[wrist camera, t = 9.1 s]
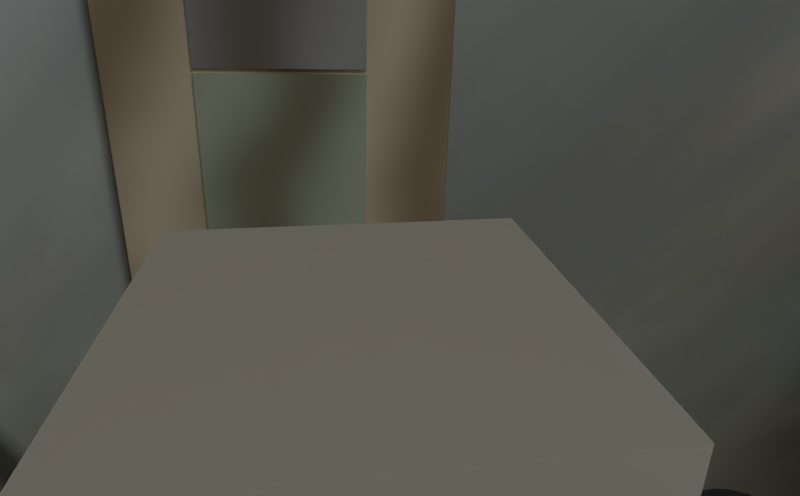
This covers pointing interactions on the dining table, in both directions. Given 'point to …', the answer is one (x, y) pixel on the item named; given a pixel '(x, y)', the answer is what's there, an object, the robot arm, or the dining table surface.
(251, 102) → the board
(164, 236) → the cream cube
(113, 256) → the dining table surface
